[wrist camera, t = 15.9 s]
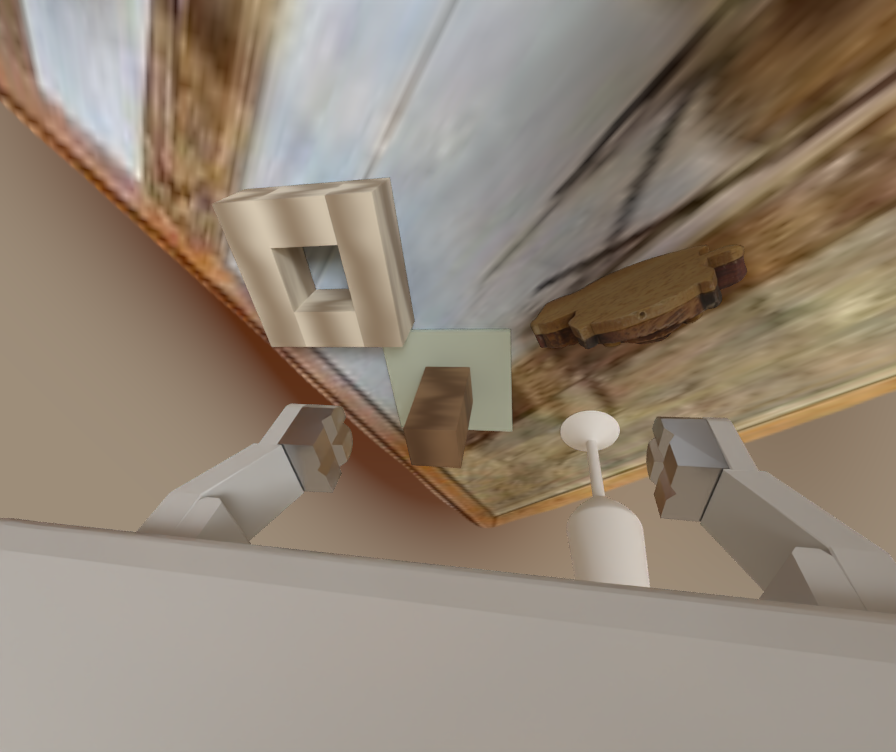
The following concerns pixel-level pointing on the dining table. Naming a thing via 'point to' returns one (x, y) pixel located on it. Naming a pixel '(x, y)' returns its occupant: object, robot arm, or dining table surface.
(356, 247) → the pocket block
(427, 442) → the walnut peg
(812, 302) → the dining table surface
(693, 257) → the wooden carving
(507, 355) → the sage mat
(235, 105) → the dining table surface
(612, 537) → the champagne flute
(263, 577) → the robot arm
